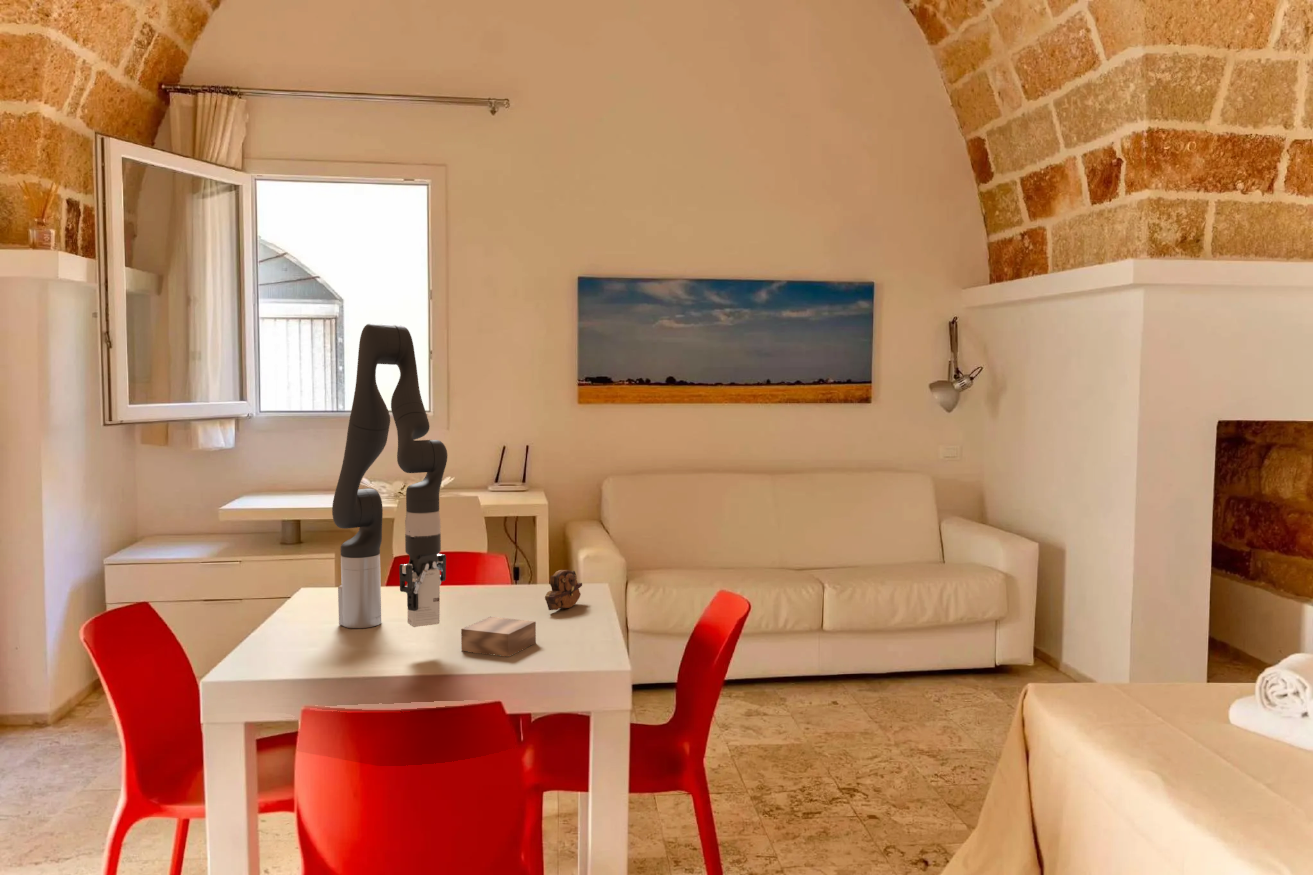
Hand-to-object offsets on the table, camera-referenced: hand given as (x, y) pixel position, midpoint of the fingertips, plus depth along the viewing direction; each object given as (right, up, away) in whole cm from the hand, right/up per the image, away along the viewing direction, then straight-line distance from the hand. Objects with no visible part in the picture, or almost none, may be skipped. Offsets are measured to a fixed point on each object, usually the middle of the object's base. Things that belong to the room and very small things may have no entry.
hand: (423, 606), depth 219 cm
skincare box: (0, -4, 0) cm, 4 cm away
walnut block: (+16, -10, +6) cm, 20 cm away
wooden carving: (+27, -8, +43) cm, 51 cm away
